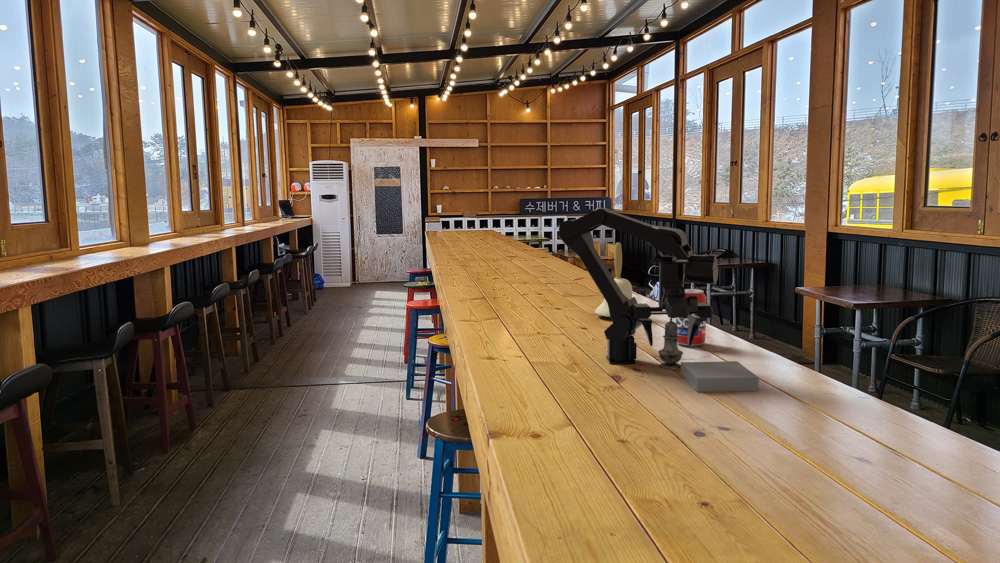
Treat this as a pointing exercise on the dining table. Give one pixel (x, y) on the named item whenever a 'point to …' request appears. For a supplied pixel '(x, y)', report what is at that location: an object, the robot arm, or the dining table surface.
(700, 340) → the soda can
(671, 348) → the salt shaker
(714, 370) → the riser
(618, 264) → the handbell
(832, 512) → the dining table surface
